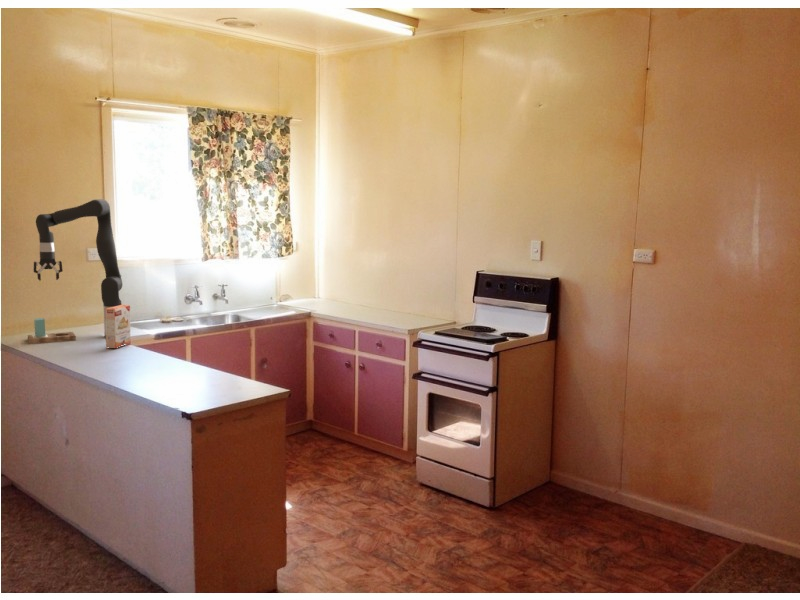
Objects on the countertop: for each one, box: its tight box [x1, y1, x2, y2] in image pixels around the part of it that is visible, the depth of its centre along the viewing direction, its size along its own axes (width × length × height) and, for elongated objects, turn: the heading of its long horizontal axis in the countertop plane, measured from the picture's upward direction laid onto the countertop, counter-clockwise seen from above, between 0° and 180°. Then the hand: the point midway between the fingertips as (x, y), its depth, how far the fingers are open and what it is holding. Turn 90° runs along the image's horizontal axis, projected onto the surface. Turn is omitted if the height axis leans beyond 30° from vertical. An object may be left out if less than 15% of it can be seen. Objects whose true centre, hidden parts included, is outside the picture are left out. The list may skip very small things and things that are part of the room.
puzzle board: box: [27, 331, 77, 345], centre depth 386 cm, size 22×12×3 cm, turn 121°
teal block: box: [33, 317, 46, 337], centre depth 382 cm, size 4×4×9 cm
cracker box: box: [105, 304, 132, 349], centre depth 376 cm, size 14×6×21 cm, turn 168°
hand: (48, 280), depth 400 cm, fingers open, 8 cm apart
